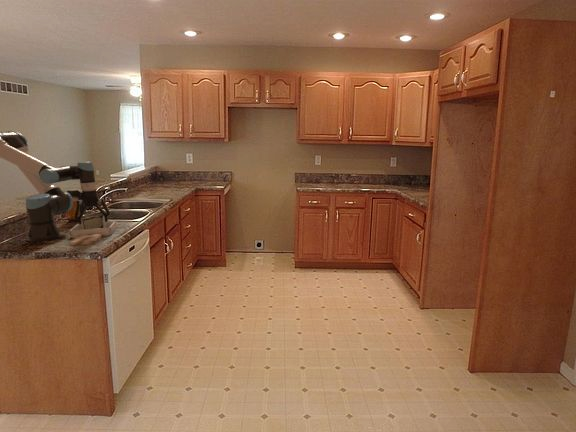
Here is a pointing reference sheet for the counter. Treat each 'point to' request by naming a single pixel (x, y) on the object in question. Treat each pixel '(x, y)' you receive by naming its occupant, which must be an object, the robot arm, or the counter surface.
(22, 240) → the counter surface
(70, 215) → the canister
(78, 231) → the bin
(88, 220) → the food container
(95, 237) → the board
